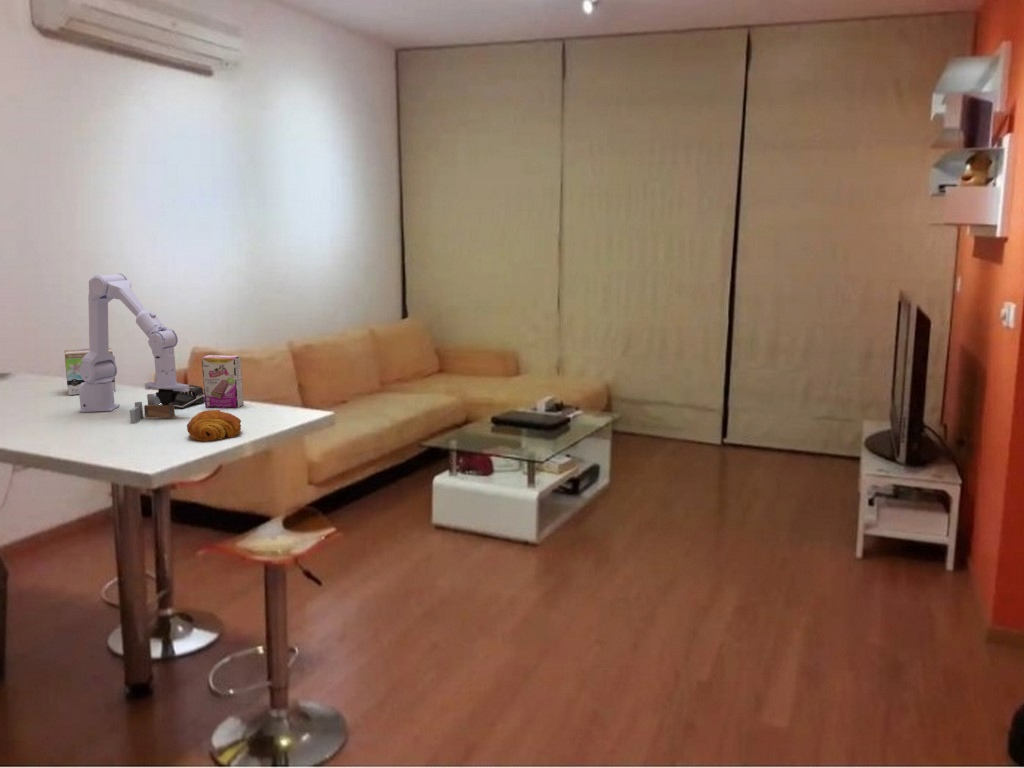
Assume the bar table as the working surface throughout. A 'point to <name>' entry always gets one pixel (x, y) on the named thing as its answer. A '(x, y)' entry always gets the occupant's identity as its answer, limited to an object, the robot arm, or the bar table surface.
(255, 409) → the bar table surface
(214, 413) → the croissant
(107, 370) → the robot arm
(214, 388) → the candy bar box
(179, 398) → the battery charger
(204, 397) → the bar
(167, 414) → the gate
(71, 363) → the tea box
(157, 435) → the bar table surface
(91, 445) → the bar table surface
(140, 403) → the fence
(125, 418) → the bar table surface
